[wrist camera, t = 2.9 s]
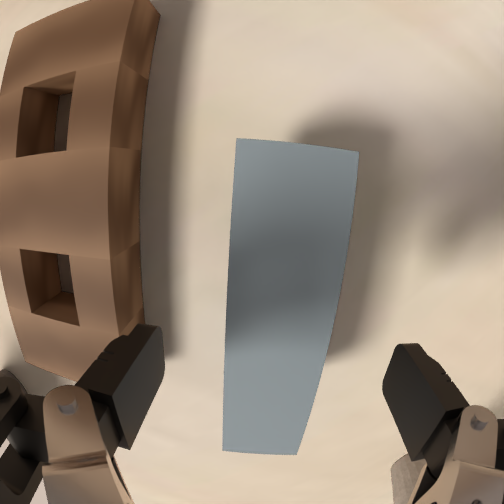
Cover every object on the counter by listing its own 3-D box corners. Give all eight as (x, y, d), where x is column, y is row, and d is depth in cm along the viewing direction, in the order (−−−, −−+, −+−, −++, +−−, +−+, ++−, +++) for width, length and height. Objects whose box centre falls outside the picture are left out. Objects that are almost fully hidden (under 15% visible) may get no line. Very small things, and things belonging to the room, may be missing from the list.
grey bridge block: (249, 152, 14) (236, 138, 8) (319, 159, 14) (359, 151, 8) (234, 370, 18) (222, 450, 11) (289, 374, 17) (296, 454, 11)
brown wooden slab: (46, 44, 12) (15, 32, 9) (160, 14, 12) (138, -14, 8) (50, 338, 18) (25, 361, 15) (149, 364, 18) (131, 397, 14)
